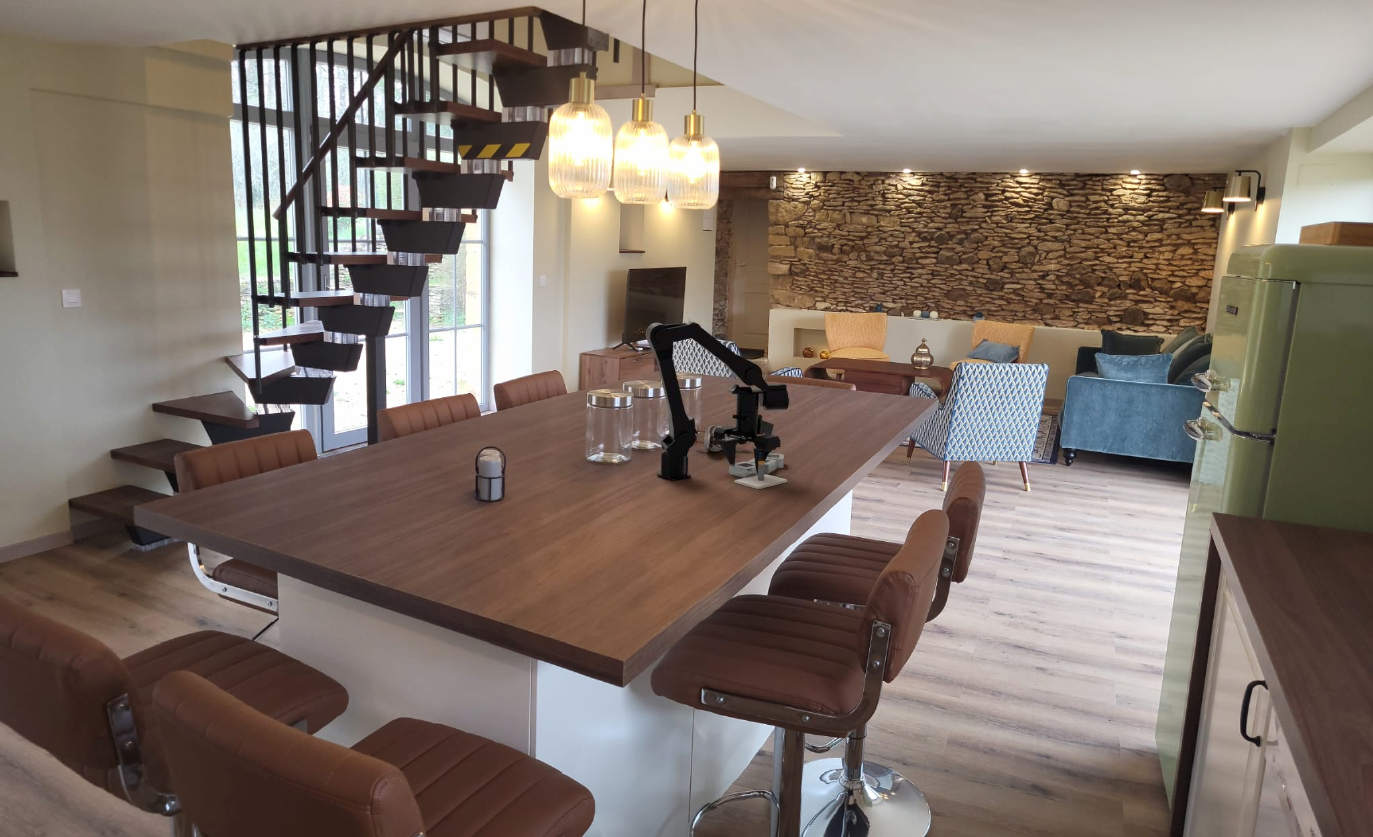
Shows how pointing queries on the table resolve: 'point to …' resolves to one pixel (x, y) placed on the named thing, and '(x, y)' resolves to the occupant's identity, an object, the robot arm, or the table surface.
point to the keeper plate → (764, 484)
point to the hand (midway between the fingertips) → (745, 469)
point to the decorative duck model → (713, 439)
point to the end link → (743, 469)
